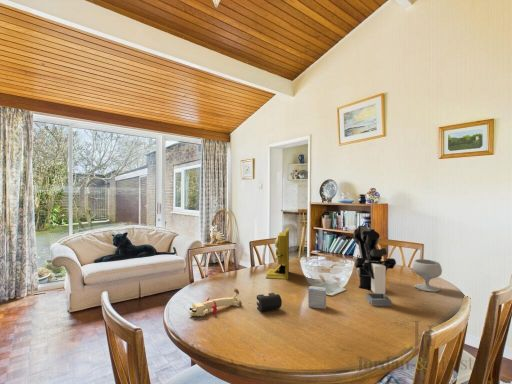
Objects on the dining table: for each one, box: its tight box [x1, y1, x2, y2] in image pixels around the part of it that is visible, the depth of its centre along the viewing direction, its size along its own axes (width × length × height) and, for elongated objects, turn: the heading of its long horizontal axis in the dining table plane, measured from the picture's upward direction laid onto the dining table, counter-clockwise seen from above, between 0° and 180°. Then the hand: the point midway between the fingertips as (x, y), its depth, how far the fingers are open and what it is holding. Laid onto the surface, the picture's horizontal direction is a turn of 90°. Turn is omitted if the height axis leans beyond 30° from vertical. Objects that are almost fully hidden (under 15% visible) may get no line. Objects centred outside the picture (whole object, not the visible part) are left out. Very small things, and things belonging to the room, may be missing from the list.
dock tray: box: [365, 292, 392, 308], centre depth 137 cm, size 9×9×3 cm
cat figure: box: [188, 288, 243, 317], centre depth 128 cm, size 10×9×25 cm
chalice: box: [412, 258, 443, 293], centre depth 157 cm, size 14×14×15 cm
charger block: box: [370, 264, 387, 295], centre depth 137 cm, size 5×5×13 cm
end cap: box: [256, 292, 283, 313], centre depth 128 cm, size 10×7×7 cm
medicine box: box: [307, 285, 327, 310], centre depth 132 cm, size 8×4×9 cm, turn 71°
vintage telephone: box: [265, 227, 290, 281], centre depth 182 cm, size 31×14×30 cm, turn 172°
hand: (379, 278), depth 135 cm, fingers closed on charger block, 5 cm apart
